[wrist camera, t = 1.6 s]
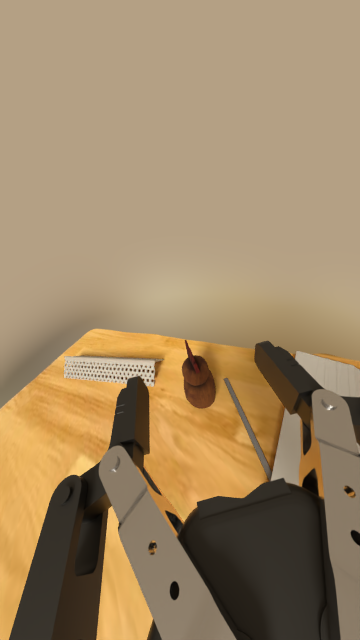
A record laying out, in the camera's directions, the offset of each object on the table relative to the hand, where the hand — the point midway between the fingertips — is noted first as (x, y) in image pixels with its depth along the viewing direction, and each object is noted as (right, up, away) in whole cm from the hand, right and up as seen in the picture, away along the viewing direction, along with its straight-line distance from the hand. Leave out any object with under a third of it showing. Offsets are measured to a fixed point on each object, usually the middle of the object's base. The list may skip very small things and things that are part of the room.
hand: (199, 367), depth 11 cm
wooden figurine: (+3, -13, +23) cm, 27 cm away
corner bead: (-20, -11, +35) cm, 42 cm away
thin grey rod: (+10, -15, +17) cm, 25 cm away
